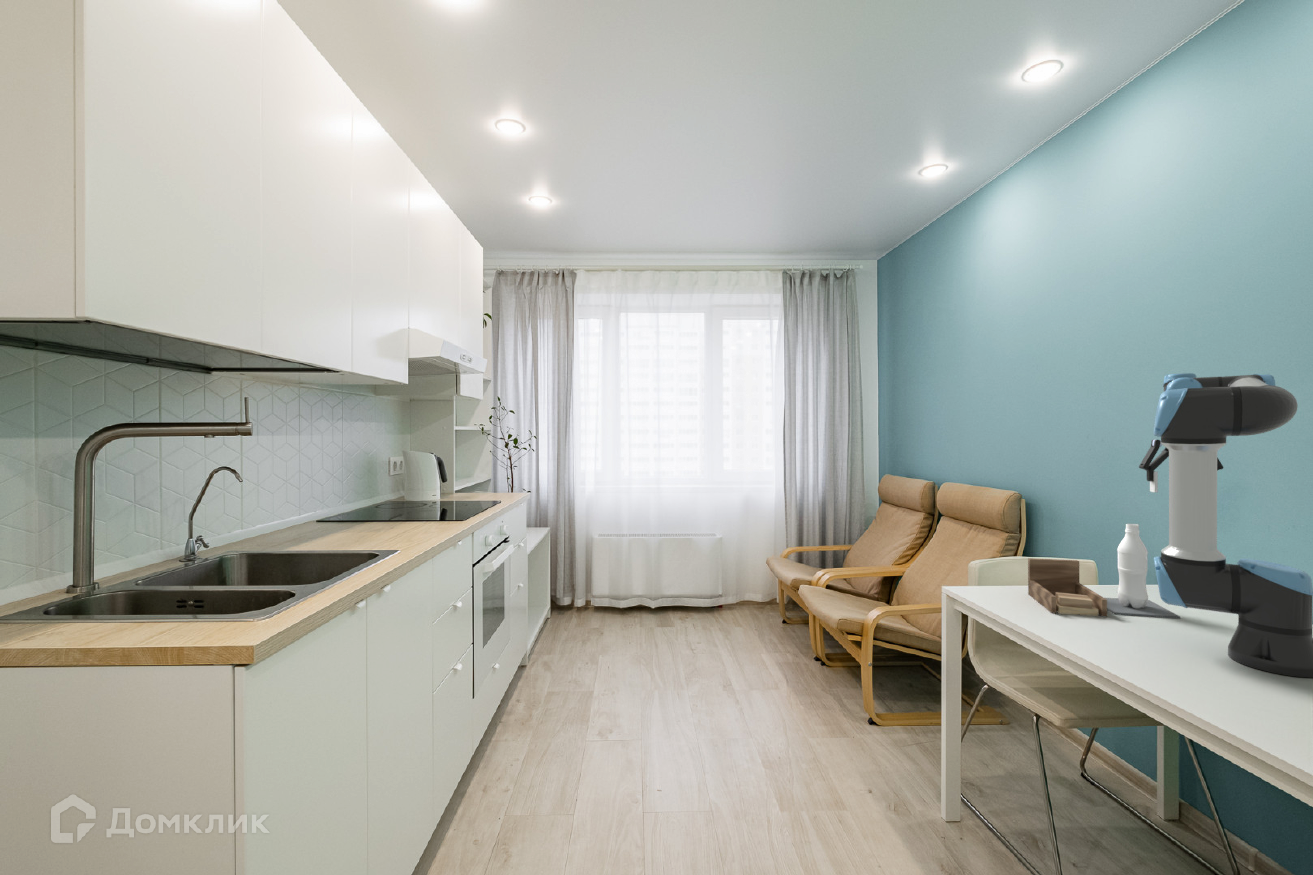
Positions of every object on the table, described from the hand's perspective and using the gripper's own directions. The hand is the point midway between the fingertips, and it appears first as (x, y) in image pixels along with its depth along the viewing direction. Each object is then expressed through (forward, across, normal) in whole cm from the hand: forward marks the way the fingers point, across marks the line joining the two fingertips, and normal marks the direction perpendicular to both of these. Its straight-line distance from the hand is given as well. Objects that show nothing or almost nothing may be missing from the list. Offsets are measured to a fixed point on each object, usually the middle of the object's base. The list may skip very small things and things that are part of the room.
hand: (1180, 492), depth 175 cm
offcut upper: (+33, +34, +15) cm, 50 cm away
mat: (+35, +16, +8) cm, 39 cm away
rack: (+35, +34, +9) cm, 49 cm away
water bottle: (+34, +16, +8) cm, 39 cm away
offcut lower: (+35, +34, +15) cm, 51 cm away
